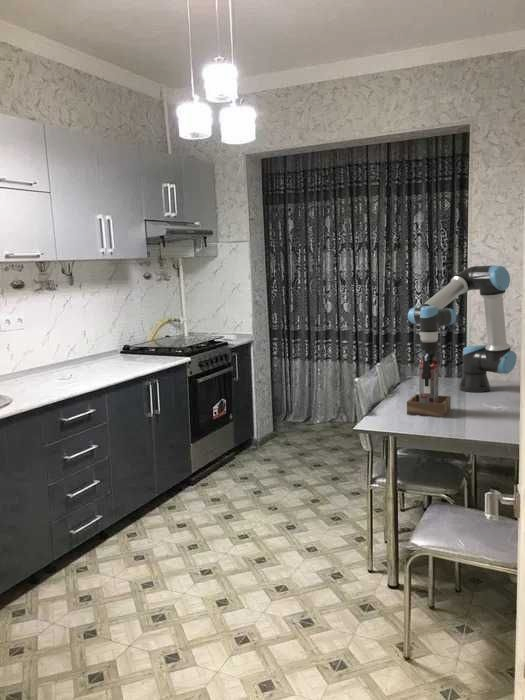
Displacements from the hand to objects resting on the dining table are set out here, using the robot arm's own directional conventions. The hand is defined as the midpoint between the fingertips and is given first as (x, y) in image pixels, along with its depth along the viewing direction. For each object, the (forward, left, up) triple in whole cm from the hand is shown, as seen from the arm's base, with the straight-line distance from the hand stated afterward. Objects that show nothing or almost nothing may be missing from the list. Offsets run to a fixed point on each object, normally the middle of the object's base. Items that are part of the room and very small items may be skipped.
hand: (428, 391), depth 265 cm
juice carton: (0, 0, -6) cm, 6 cm away
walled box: (0, 0, -10) cm, 10 cm away
